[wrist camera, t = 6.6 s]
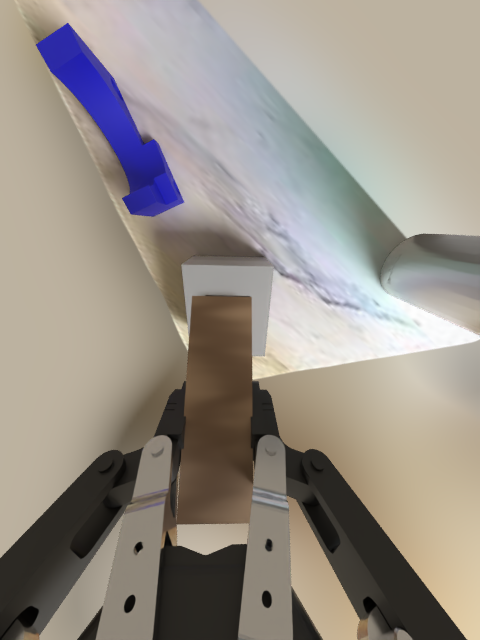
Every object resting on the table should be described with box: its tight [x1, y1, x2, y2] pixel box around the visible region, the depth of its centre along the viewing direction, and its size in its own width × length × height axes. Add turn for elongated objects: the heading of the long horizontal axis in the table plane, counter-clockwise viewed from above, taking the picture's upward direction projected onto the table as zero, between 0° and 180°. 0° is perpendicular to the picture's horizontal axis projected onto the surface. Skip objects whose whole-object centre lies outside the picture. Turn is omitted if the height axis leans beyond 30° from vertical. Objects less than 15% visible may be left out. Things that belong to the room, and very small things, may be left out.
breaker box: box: [181, 255, 274, 356], centre depth 26 cm, size 10×12×7 cm
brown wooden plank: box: [176, 296, 253, 524], centre depth 12 cm, size 4×4×11 cm
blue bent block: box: [36, 23, 184, 217], centre depth 19 cm, size 12×4×6 cm, turn 21°
